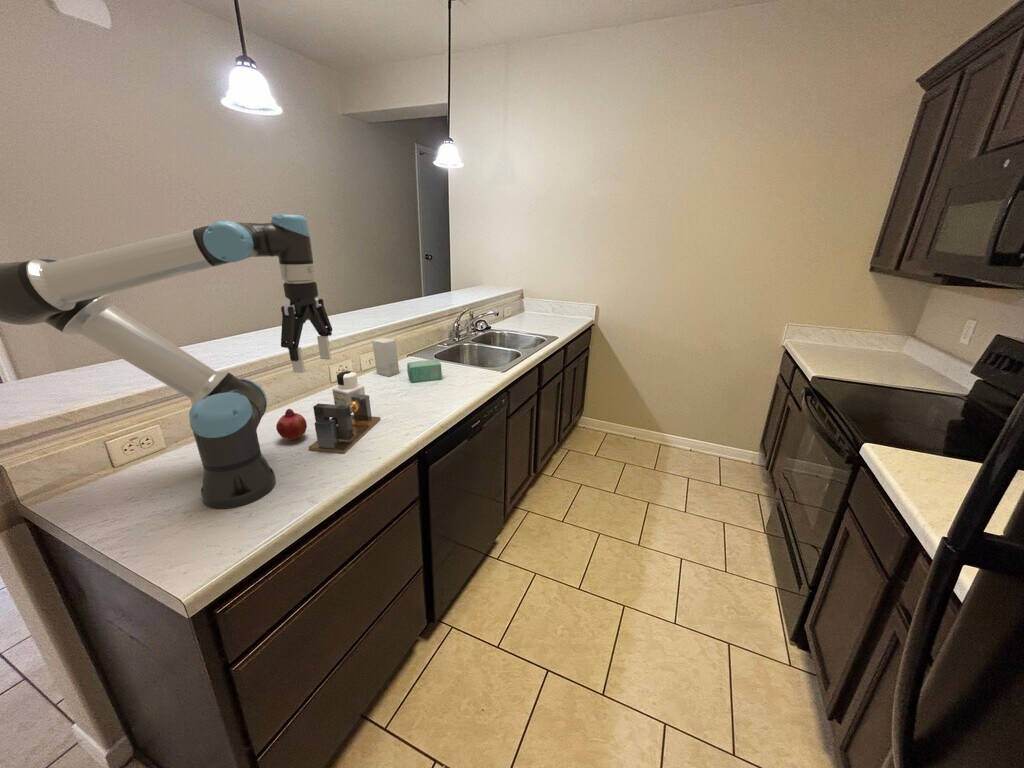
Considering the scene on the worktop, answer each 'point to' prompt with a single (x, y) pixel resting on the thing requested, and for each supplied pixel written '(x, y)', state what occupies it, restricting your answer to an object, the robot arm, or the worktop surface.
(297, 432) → the fruit
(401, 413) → the worktop surface
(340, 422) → the collar
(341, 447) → the pipe rig
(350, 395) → the container
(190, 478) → the worktop surface
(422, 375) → the box
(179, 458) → the worktop surface
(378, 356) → the skincare box
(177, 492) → the worktop surface
